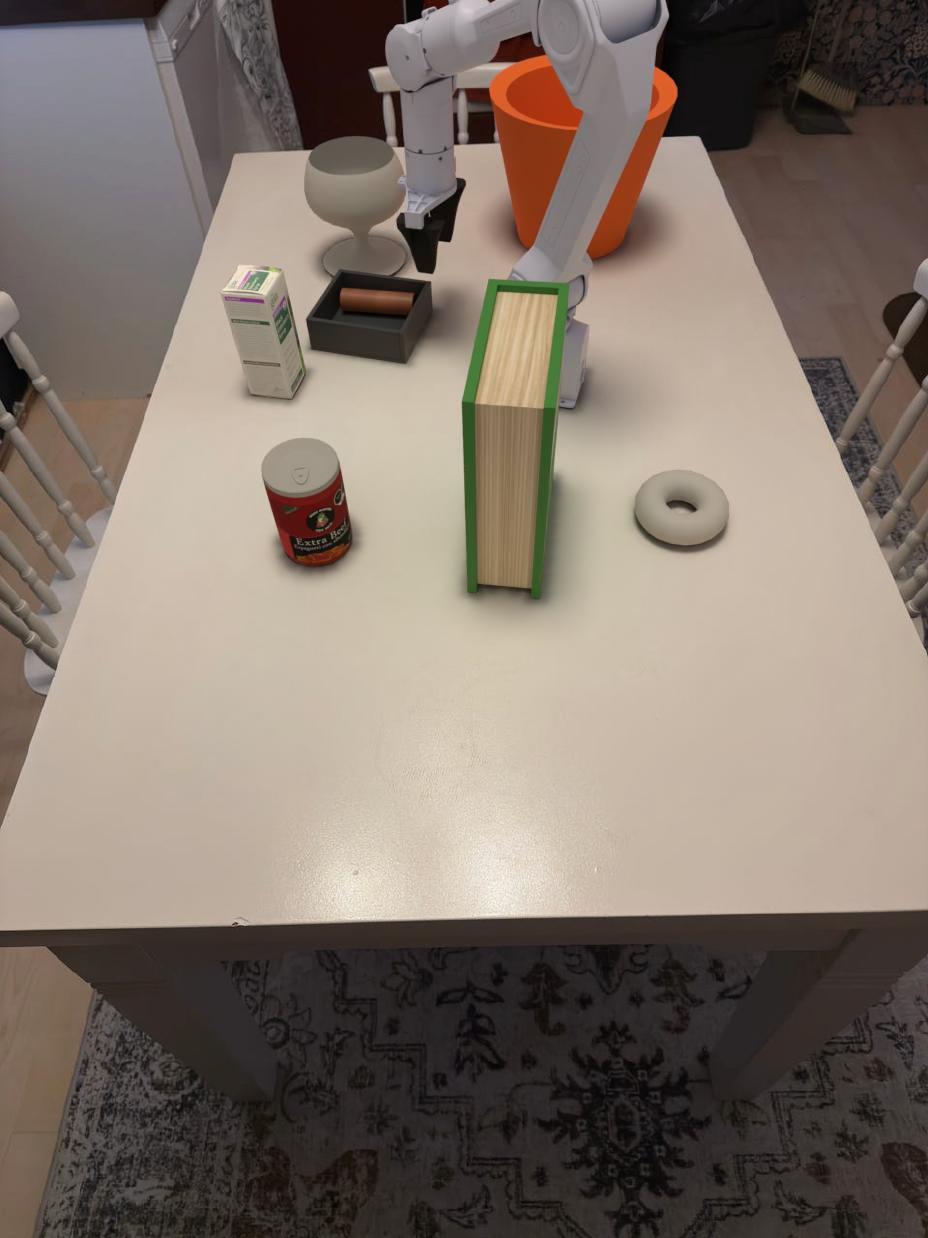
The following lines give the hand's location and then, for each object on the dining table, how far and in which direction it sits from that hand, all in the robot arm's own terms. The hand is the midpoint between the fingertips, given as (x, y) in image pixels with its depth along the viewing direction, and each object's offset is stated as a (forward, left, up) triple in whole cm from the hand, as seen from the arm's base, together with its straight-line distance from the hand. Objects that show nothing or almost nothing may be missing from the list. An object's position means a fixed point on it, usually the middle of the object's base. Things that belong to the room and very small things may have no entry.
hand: (434, 255), depth 106 cm
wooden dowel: (+8, 0, -6) cm, 10 cm away
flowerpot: (-13, -27, -10) cm, 31 cm away
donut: (-36, +29, -10) cm, 47 cm away
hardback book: (-19, +36, -10) cm, 41 cm away
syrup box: (+16, +18, -10) cm, 26 cm away
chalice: (+15, -12, -10) cm, 21 cm away
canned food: (+1, +42, -10) cm, 43 cm away
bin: (+8, +4, -9) cm, 13 cm away
